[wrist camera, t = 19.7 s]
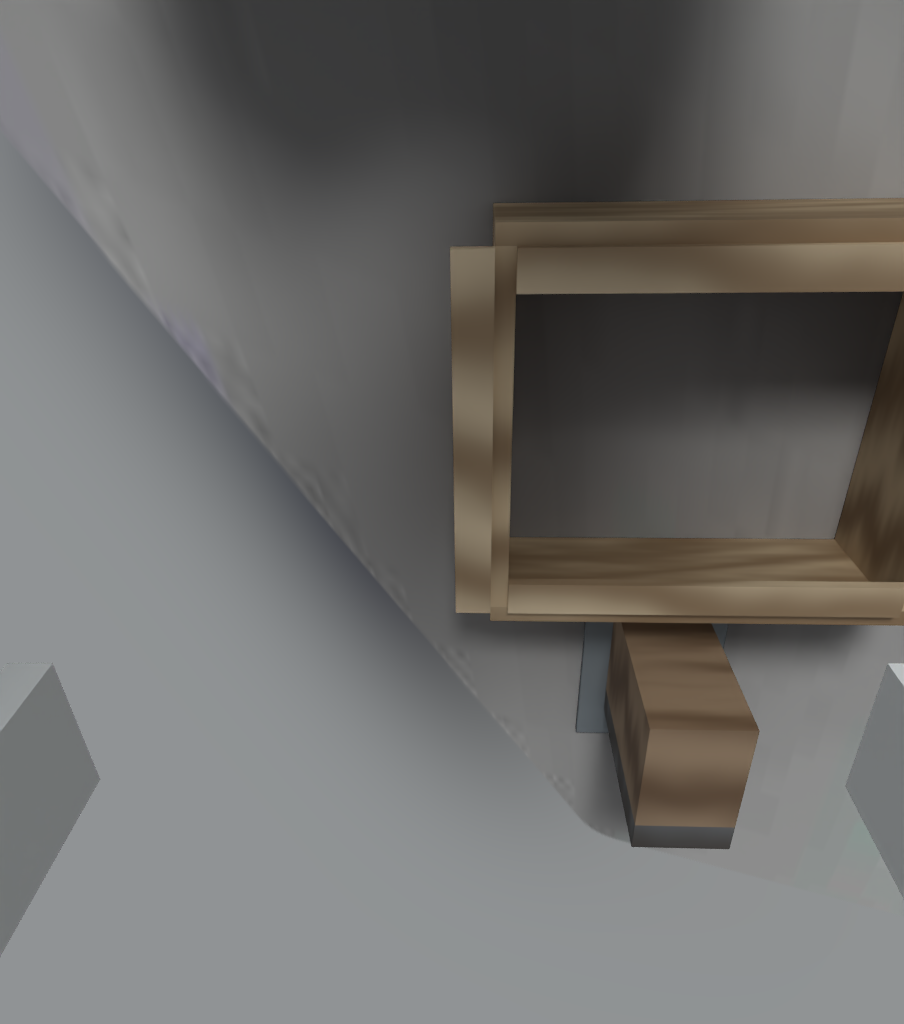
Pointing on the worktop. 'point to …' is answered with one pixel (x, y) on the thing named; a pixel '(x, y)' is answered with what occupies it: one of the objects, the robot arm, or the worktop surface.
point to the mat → (603, 674)
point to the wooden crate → (672, 269)
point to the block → (677, 734)
